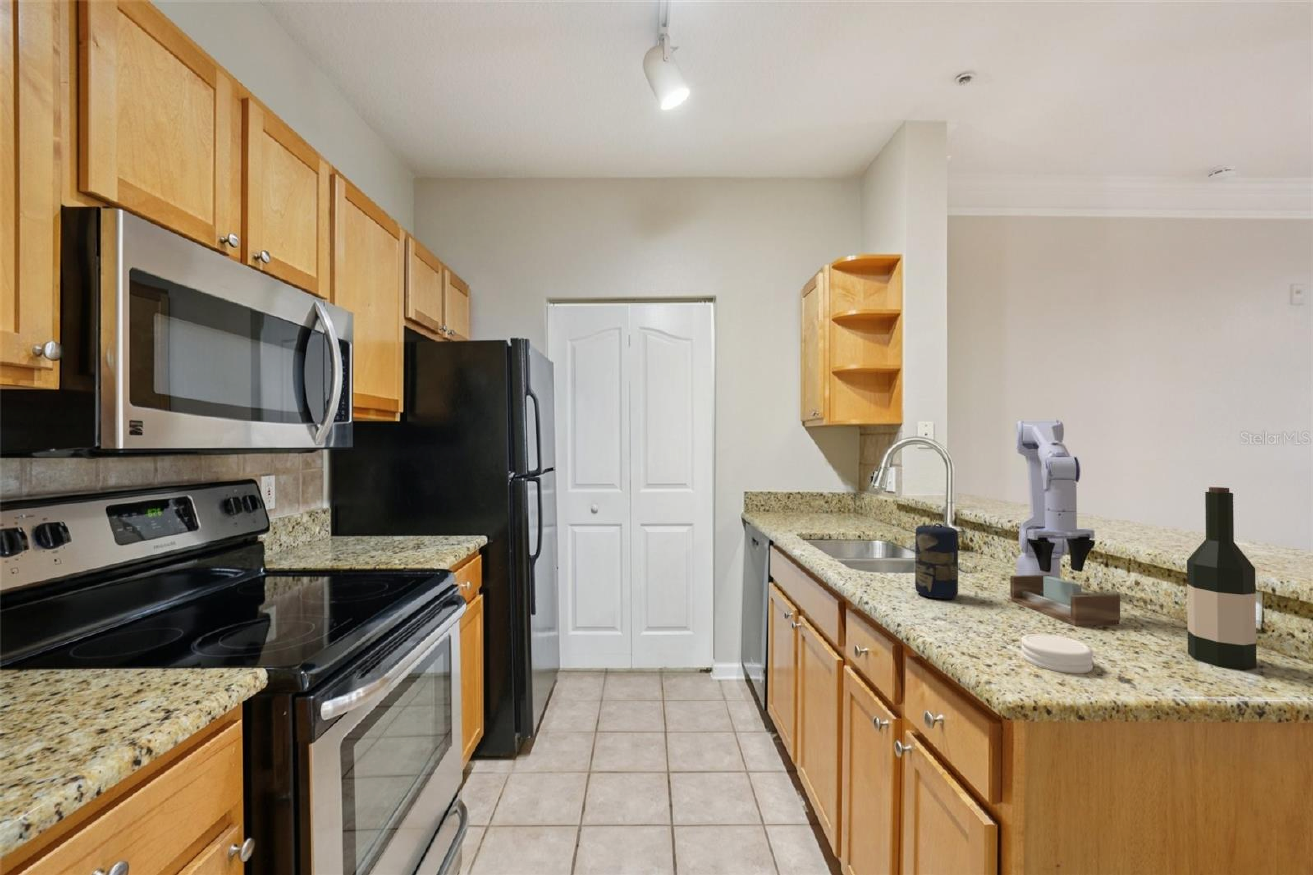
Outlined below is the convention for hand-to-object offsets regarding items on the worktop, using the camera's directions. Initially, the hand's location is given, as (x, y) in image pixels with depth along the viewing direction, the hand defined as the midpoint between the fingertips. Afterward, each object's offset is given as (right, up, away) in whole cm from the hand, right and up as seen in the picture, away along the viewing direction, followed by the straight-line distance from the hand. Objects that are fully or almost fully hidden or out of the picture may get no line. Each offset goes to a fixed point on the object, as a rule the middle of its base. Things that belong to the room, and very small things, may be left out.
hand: (1061, 571), depth 123 cm
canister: (-21, -10, +13) cm, 27 cm away
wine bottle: (+7, -9, -28) cm, 30 cm away
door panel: (0, -8, 0) cm, 8 cm away
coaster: (-22, -9, -28) cm, 37 cm away
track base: (0, -9, 0) cm, 9 cm away
